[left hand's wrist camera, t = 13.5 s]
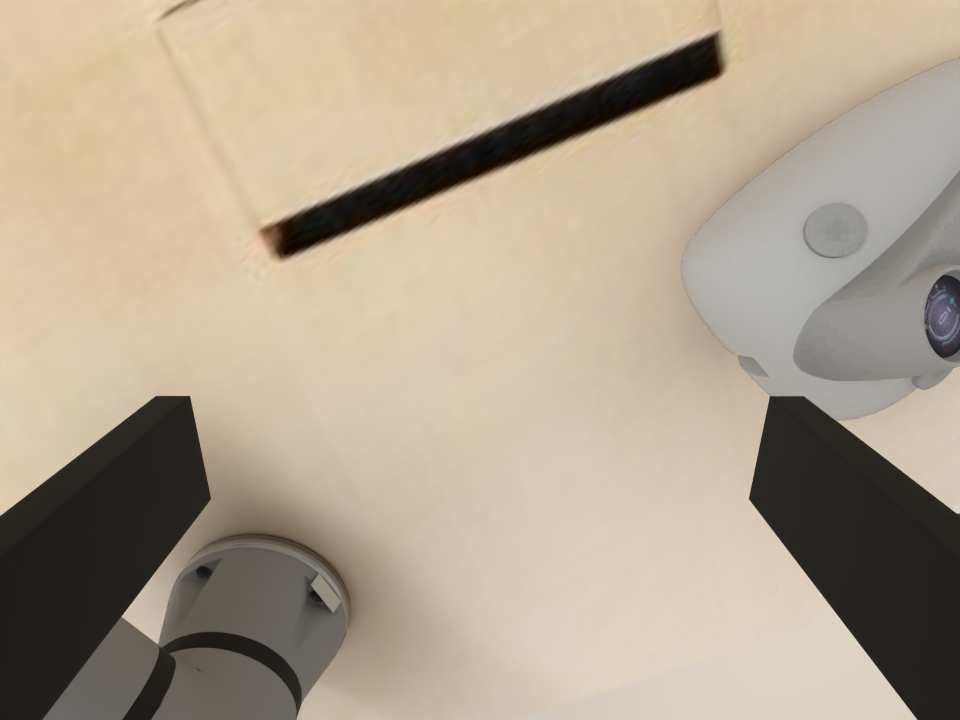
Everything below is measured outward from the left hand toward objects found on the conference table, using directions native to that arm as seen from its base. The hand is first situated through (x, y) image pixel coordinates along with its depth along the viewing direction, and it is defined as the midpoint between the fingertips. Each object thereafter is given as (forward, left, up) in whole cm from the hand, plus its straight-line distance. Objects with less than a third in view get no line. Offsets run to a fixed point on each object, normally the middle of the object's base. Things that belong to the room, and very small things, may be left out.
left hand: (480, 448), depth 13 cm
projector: (+8, -24, -28) cm, 37 cm away
